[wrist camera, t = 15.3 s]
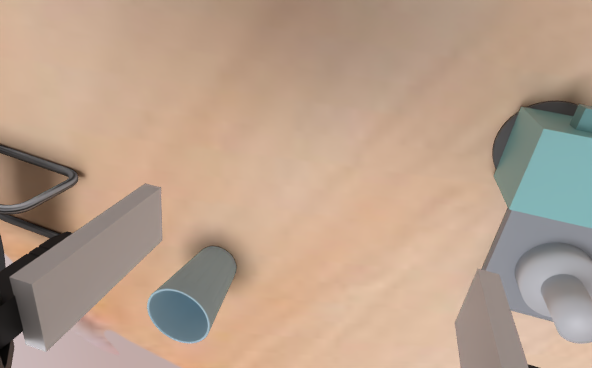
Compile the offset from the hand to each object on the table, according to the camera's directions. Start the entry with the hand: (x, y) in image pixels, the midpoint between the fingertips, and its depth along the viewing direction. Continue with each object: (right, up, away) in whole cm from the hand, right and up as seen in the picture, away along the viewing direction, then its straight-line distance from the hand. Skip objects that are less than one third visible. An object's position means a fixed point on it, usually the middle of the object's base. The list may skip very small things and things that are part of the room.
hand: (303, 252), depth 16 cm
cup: (-11, -8, +37) cm, 40 cm away
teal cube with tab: (+23, +6, +20) cm, 31 cm away
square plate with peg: (+26, -6, +25) cm, 37 cm away
